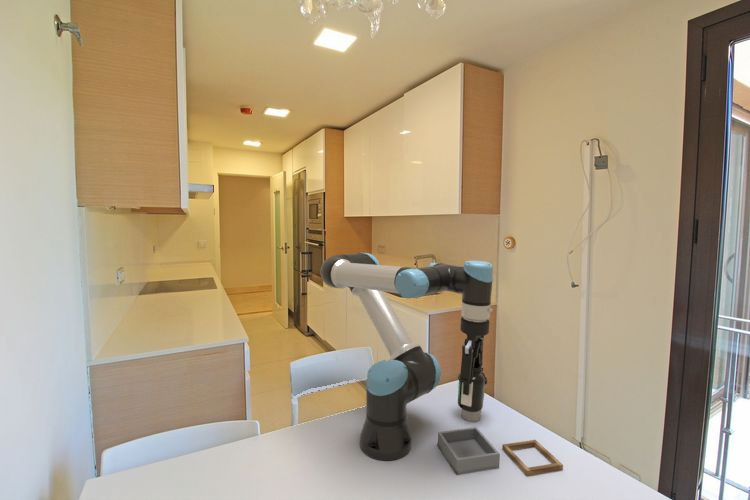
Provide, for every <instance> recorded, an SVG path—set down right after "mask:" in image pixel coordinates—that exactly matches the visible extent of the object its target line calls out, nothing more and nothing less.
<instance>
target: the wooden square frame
mask: <svg viewBox="0 0 750 500" xmlns="http://www.w3.org/2000/svg"><path fill="white" fill-rule="evenodd" d="M501 447H502V451H503V452H504V453H505V454H506V455H507V456H508V458H510V460H511V461H512V462H513V463H514V464H515V465H516V466H517V468H519V469H520V471H521V472H522V473H523V474H524V475H525V476H526V477H530V476H531V477H532V476H536V475H543V474H547V473H548V474H549V473H553V472H554V473H555V472H561V471H563V469H564V464H563V463H562V462H561V461H559V459H557V458H556V457H555V456H554V455H553V454H552V453H551V452H550V451H548V449H546V448H545V447H544V446H543V445H542V444H541V443H540V442H539V441H537V440H536V439H530V440H523V441H517V442H511V443H510V442H509V443H504V444H502V446H501ZM531 448H535V449H536V450H537V451H538V452H539V453H540V454H541V455H542V456H544V458H545V459H547V460H548V462H550V463H548V464H541V465H536V466H531V467H528V466H527V465H526V464H525V463H524V461H522V460H521V459H520V458H519V456H518V455H517V454H515V452H514V451H517V450H518V451H519V450H523V449H531Z"/></svg>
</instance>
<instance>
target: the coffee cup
mask: <svg viewBox="0 0 750 500" xmlns="http://www.w3.org/2000/svg"><path fill="white" fill-rule="evenodd" d="M481 374H482V375H483V376H484V379H485V383H484V394H485V392H486V385H487V384H488V378H487V377H486V374H485V373H484V371H483V372H482V373H481ZM459 375H460V373H459V374H458V376H457V379H458V380H459ZM484 400H485V397H484V398H483V401H484ZM481 415H482V409H481V410H480V411H478V412H469V411H465V410H463V409H462V408H461V417H462V418H463V419H464V420H466V421H469V422H478V421H480V419H481Z"/></svg>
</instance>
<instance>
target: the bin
mask: <svg viewBox="0 0 750 500" xmlns="http://www.w3.org/2000/svg"><path fill="white" fill-rule="evenodd" d="M437 447H438V448H439V450H440V451H441V453H442V455H443V456H444V457H445V460H446V462H448V463H449V466H450V467H451V468H452V470H453V471H454V473H455V474H456V476H458V475H464V474H470V473H477V472H482V471H488V470H494V469H495V470H496V469H499V468H500V459H501V458H500V457H501V453H500V451H498V450H497V449H496V447H494V446H493V444H492V443H490V441H489V440H488V439H487V438H486V436H485V435H484V434H483V433H482V432H481V431H480V430H479V428H478V427H476V426H475V427H468V428H460V429H459V428H458V429H452V430H445V431H438V432H437Z"/></svg>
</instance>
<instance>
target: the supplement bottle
mask: <svg viewBox="0 0 750 500" xmlns="http://www.w3.org/2000/svg"><path fill="white" fill-rule="evenodd" d="M482 368H483V365H482V366H481V364H479V363H477V362H475V363H474V370H473V377H472V382H473V390H472V405H471V407H470V406H466V405H463V404H461V392H462V382H460V381H459V379H460V375H459V374H458V376H459V379H458V386H457V389H458V391H457V405H458V406H459V408H460V409H461V410H462V409H463V410H465V411H469V412H478V411H480V410H481V411H482V409H483V408H484V400H483V398H484V399H485V393H484V383H485V379H484V376H483V375H482V374H481V373H482Z"/></svg>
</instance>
